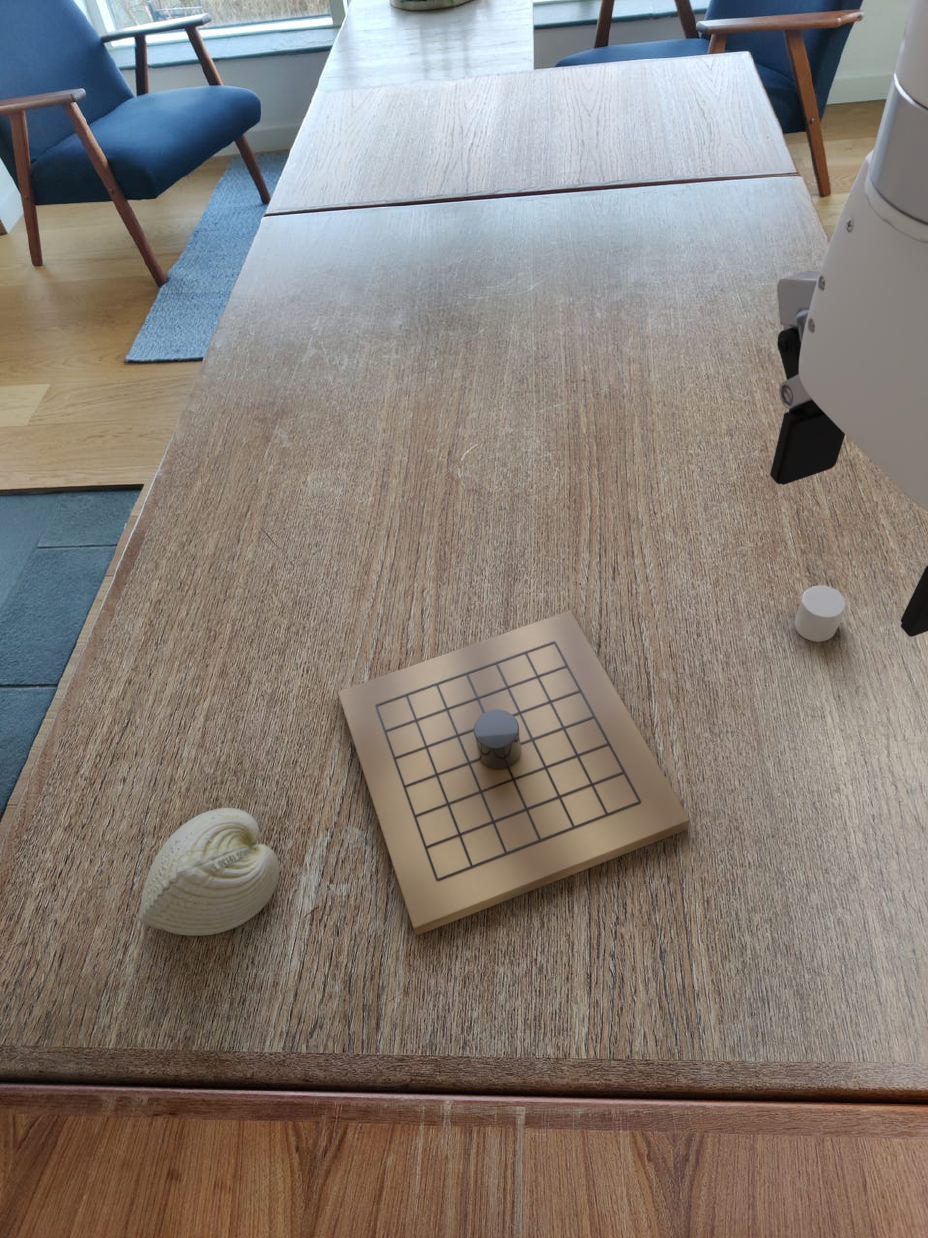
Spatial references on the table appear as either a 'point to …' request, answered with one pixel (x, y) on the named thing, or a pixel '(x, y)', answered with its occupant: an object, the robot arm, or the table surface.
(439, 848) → the board
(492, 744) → the black stone
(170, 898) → the seashell
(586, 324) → the table surface
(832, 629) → the grey cylinder
